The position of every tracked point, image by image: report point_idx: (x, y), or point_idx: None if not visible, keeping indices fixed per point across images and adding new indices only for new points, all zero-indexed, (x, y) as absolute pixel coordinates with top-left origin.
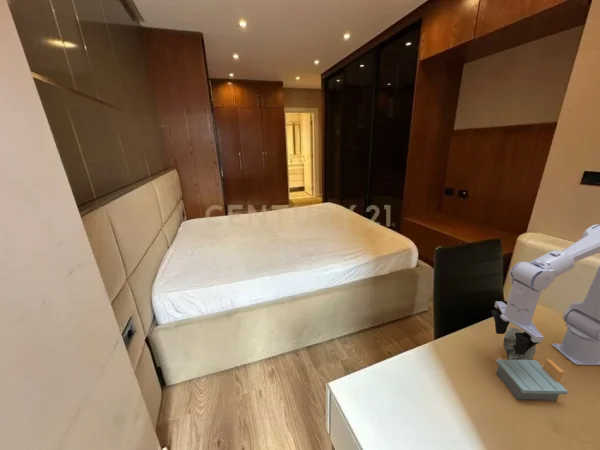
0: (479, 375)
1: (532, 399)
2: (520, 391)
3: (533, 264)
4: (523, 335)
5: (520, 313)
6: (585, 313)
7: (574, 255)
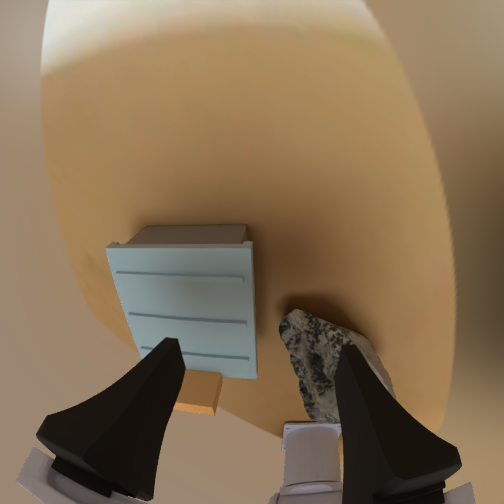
0: (233, 151)
1: None
2: (126, 243)
3: None
4: (80, 466)
5: None
6: None
7: None
